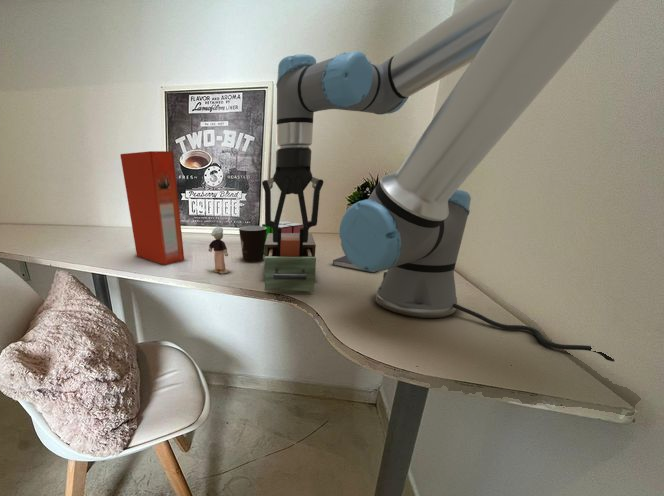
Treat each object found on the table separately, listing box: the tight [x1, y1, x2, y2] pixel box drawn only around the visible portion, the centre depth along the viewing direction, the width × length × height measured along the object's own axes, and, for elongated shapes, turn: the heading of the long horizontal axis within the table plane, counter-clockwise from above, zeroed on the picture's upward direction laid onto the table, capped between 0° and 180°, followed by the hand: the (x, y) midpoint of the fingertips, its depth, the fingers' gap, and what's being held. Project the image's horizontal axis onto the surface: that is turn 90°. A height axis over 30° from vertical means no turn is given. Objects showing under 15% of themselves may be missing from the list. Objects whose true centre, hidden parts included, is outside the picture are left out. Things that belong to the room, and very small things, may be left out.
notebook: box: [332, 255, 380, 274], centre depth 102 cm, size 13×2×21 cm
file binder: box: [119, 150, 185, 266], centre depth 105 cm, size 8×17×32 cm, turn 44°
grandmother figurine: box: [208, 226, 229, 275], centre depth 94 cm, size 8×4×13 cm, turn 56°
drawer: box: [264, 248, 317, 292], centre depth 80 cm, size 20×11×8 cm, turn 173°
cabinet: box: [264, 232, 317, 257], centre depth 92 cm, size 16×13×10 cm
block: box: [280, 237, 300, 257], centre depth 79 cm, size 4×4×4 cm
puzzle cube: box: [261, 220, 303, 255], centre depth 112 cm, size 10×10×10 cm
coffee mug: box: [238, 225, 267, 263], centre depth 107 cm, size 12×9×10 cm
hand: (289, 255), depth 80 cm, fingers closed on block, 4 cm apart
